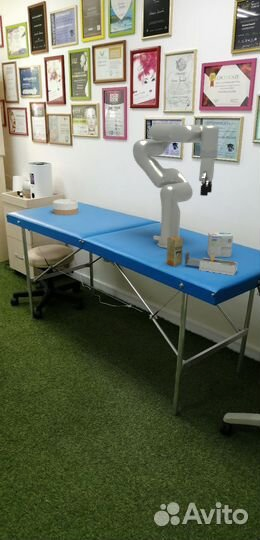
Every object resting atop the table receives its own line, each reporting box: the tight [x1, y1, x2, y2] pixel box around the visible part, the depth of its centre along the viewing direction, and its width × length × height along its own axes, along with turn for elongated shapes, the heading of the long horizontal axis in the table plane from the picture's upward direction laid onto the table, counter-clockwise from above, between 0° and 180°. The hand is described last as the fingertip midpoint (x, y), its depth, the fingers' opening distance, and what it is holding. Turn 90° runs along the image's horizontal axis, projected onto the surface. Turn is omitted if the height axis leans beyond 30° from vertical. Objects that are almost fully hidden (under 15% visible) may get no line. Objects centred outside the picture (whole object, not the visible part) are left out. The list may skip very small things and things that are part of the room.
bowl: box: [52, 198, 79, 216], centre depth 282 cm, size 17×17×8 cm
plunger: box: [184, 251, 216, 267], centre depth 177 cm, size 12×3×5 cm, turn 66°
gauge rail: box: [198, 257, 238, 277], centre depth 174 cm, size 15×7×4 cm, turn 66°
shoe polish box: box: [166, 236, 184, 267], centre depth 181 cm, size 5×5×12 cm
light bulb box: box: [206, 231, 234, 258], centre depth 194 cm, size 11×7×11 cm, turn 92°
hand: (205, 193), depth 184 cm, fingers open, 9 cm apart
